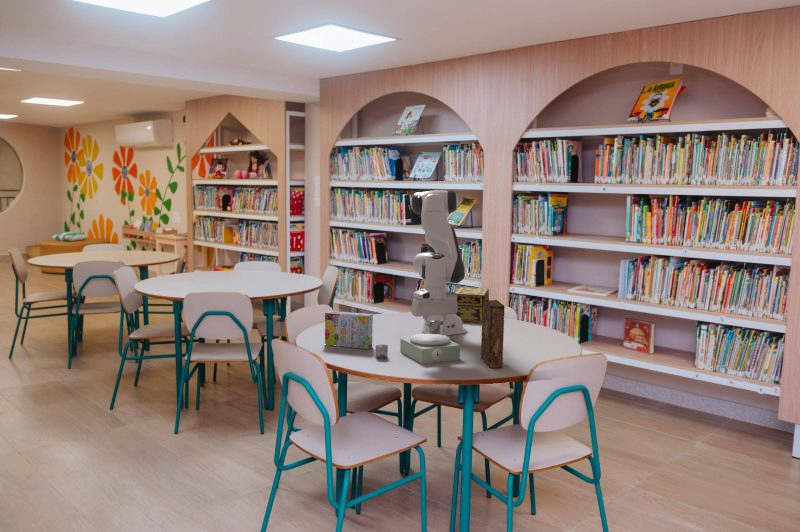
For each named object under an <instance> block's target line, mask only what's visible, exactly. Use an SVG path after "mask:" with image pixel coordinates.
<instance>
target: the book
mask: <svg viewBox="0 0 800 532" xmlns="http://www.w3.org/2000/svg"><path fill="white" fill-rule="evenodd" d="M504 326H505V305H504V304H503V303H502V302H500V300H499V301H498V299H489V300H483V308H482V323H481V341H480V343H481V345H480V347H481V348H480V359H481V360H482V361H483V363H484V364H485V365H486V366H487V368H488V369H492V370H499V369H503V360H504V359H503V357H504V352H503V351H504V334H505V332H504V330H505V327H504Z"/></svg>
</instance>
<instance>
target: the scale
mask: <svg viewBox="0 0 800 532" xmlns="http://www.w3.org/2000/svg"><path fill="white" fill-rule="evenodd" d="M399 340H400V344H399V345H400V349H399V352H400V353H401V354H403V355H405V356H406V357H409V358H410V359H412V360H413V361H416V362H417V363H419V364H431V363H440V362H447V361H457V360H461V344H459V343H457V342H454V341H452V340H451V338H450V337H449V335H447V336H445V335H440V334H426V333H416V334H413V335H411V336H410V337H402V338H401V337H400V339H399Z"/></svg>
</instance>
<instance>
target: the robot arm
mask: <svg viewBox="0 0 800 532" xmlns="http://www.w3.org/2000/svg"><path fill="white" fill-rule="evenodd" d="M409 203H410V208H411V210H412V212H413V213H414V214H415V215H420V216H421V219H420V221H421V227H422V228H421V229H422V230H423V232H424V235H425V237H424V238H425V243H426V244H427V245H428V246H430V247H431V248H432V249H433V250H434V252H430V251H429V252H427V251H426V252H420V253H417V254H416V255H415V256H414V259H413V262H412V263H413V264H412V266H413V268H414V271H415V272H417V274H418V275H419V276H420V277H421V280H422V281H423V283H424V287H423V288H421V289H417V290H416V291H414V292H413V297H414V298H413V299H412V300H411V301H412V303H411V314H412V316H414V317H416V318H419V317H422V319H423V321H424V322H423V327H422V329H421V332H422V334H430V333H428V332H429V326H430V322H429V320H440V321H441V333H440V335H445V336H453V335H459V334H464V333H468V329H467V328H466V327H464V326H463V324H464V323H463V322H462V320H461V318H459V317H458V316H457V315H456V313H457V311H458V306H457V294H456V293H454V292H455V291H449V287H448V286H447V283H451V284H459V283H460V282H462V281H463V280H464V279H465V276H466V268H465V267H466V266H465V265H464V262H463V261H464V260H463V258H462V255H461V254H462V253H461V251H460V246H459V242H458V236H457V234H456V230H455V228H454V227H453V226H451V225H450V224H449V222H448V215H451V214H452V213H455V211H456V210H457V209H458V206H459V197H458V194H457V192H456V191H455V190H451V189H448V190H442V189H434V190H428V191H427V190H426V191H417V192H415V193H413V194H412V195H411V198H410V202H409ZM447 214H448V215H447Z"/></svg>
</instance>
